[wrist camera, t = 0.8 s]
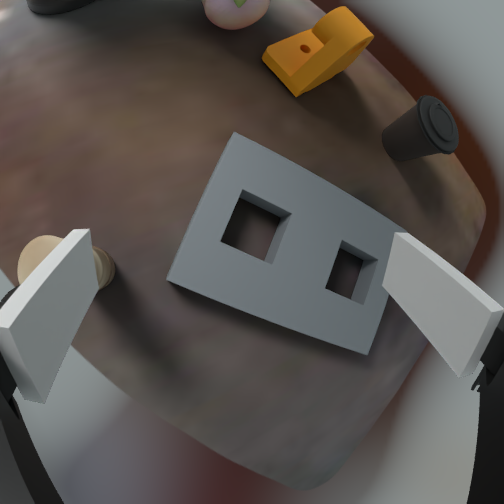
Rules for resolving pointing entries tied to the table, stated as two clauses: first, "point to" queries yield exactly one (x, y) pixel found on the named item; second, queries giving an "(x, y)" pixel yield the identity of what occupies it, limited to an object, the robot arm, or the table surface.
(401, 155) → the coffee cup
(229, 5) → the decorative fruit
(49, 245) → the maple leg
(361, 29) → the bracket
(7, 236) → the table surface
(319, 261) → the stool seat
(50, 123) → the table surface
